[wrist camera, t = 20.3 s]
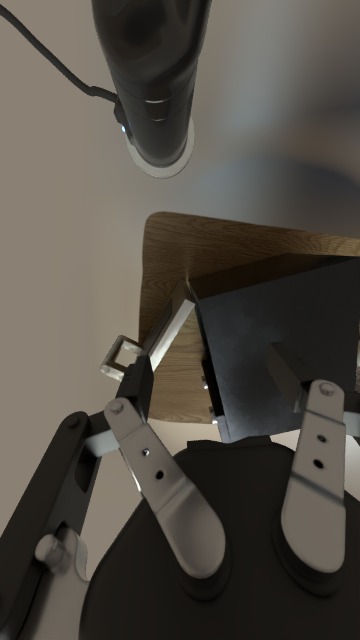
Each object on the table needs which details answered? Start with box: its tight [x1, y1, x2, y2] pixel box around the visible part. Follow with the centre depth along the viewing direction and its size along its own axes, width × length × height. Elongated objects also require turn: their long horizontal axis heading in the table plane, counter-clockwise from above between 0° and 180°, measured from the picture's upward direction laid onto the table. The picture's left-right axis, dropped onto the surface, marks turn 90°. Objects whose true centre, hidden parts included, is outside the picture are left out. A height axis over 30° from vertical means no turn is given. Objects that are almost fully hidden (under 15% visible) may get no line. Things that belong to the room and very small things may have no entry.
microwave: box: [188, 253, 360, 443], centre depth 39 cm, size 24×28×18 cm
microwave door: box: [100, 279, 195, 381], centre depth 37 cm, size 8×21×18 cm, turn 150°
